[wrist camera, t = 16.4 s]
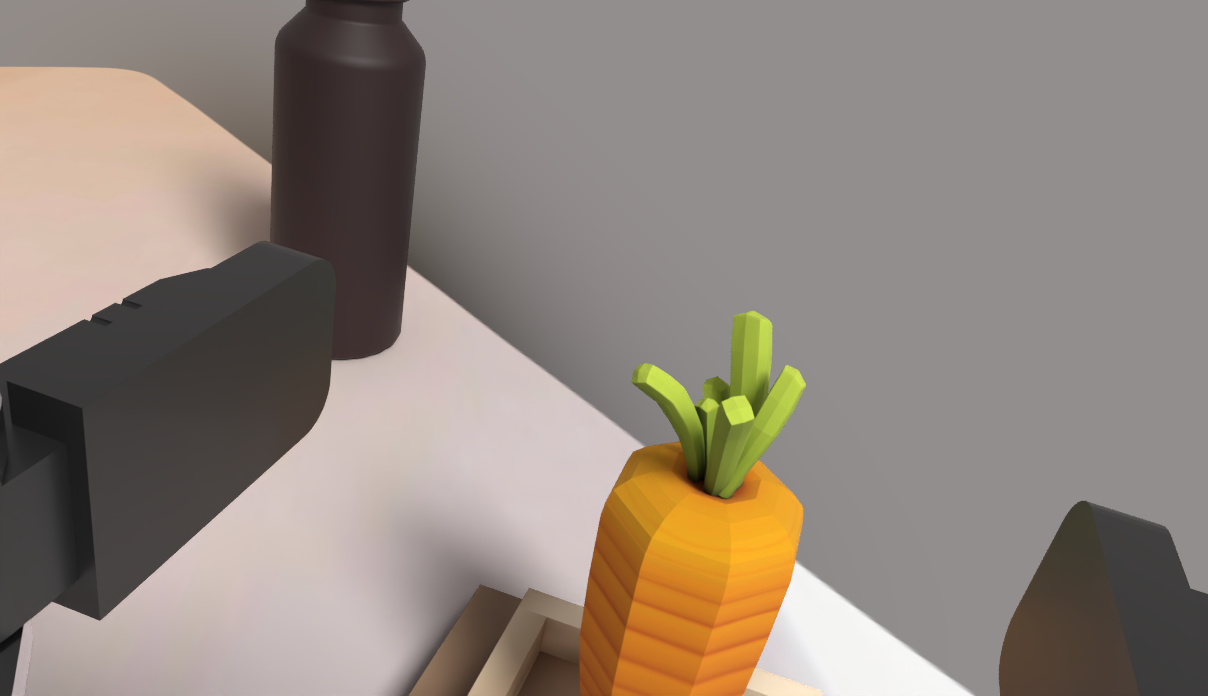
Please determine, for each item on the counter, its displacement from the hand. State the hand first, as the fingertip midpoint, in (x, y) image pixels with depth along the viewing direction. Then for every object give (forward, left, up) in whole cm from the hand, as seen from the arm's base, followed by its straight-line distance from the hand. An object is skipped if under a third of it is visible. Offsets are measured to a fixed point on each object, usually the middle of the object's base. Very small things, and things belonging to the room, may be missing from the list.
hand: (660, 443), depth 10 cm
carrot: (0, +11, -19) cm, 21 cm away
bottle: (-22, +33, -20) cm, 44 cm away
